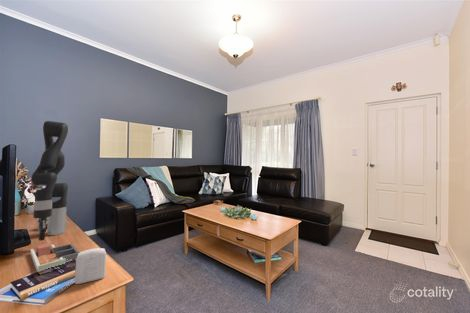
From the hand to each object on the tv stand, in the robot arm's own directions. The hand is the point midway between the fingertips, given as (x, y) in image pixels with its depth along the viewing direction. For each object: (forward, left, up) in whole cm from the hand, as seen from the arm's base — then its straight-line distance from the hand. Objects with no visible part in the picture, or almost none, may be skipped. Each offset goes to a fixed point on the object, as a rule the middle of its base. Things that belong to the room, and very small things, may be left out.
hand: (41, 240), depth 114 cm
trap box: (+14, +14, -5) cm, 21 cm away
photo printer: (+39, +39, -5) cm, 55 cm away
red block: (+7, +4, -5) cm, 9 cm away
